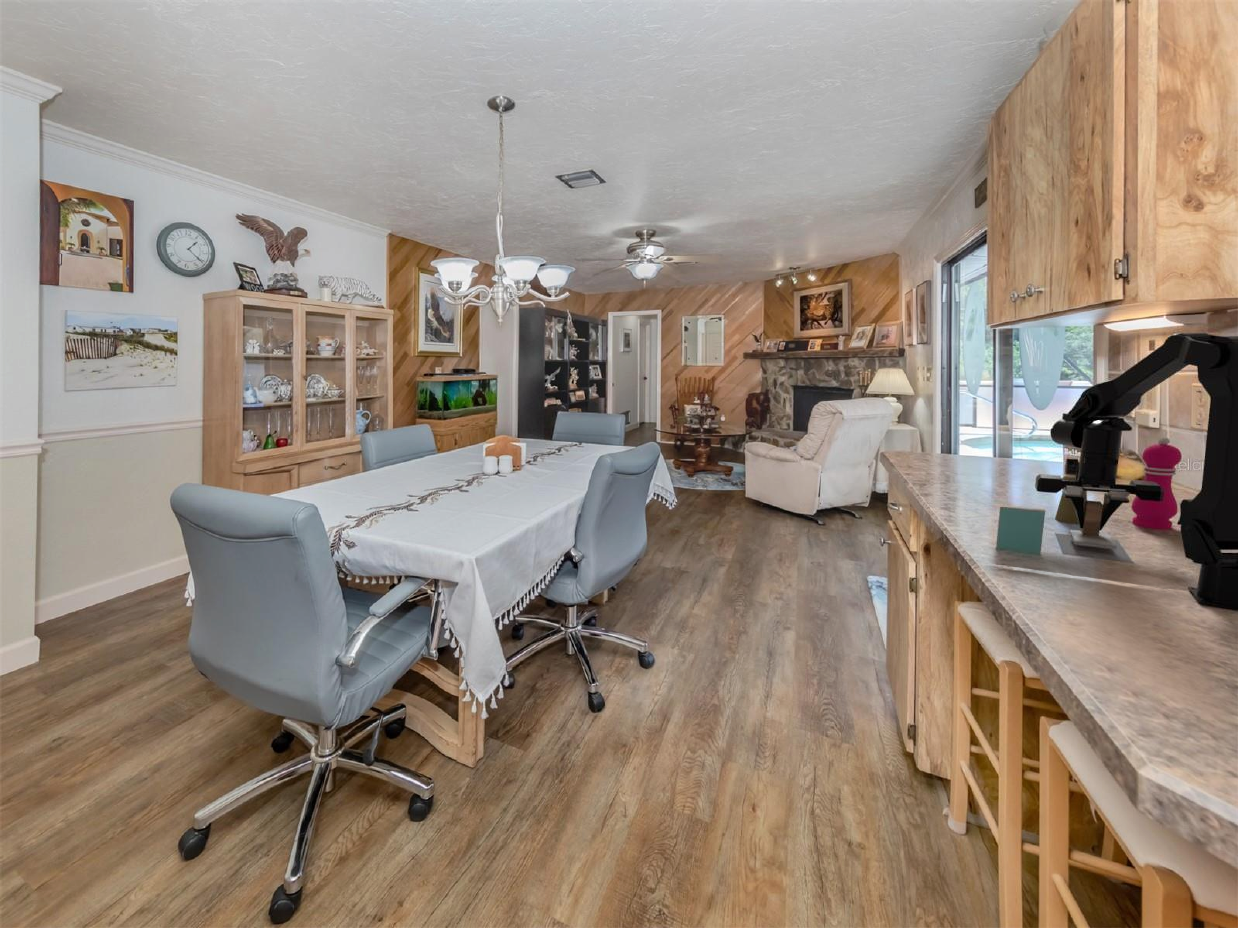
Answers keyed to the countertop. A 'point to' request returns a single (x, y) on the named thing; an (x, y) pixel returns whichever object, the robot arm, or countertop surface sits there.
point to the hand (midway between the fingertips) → (1090, 529)
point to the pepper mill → (1161, 472)
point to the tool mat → (1092, 550)
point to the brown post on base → (1092, 528)
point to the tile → (1020, 529)
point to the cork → (1068, 506)
